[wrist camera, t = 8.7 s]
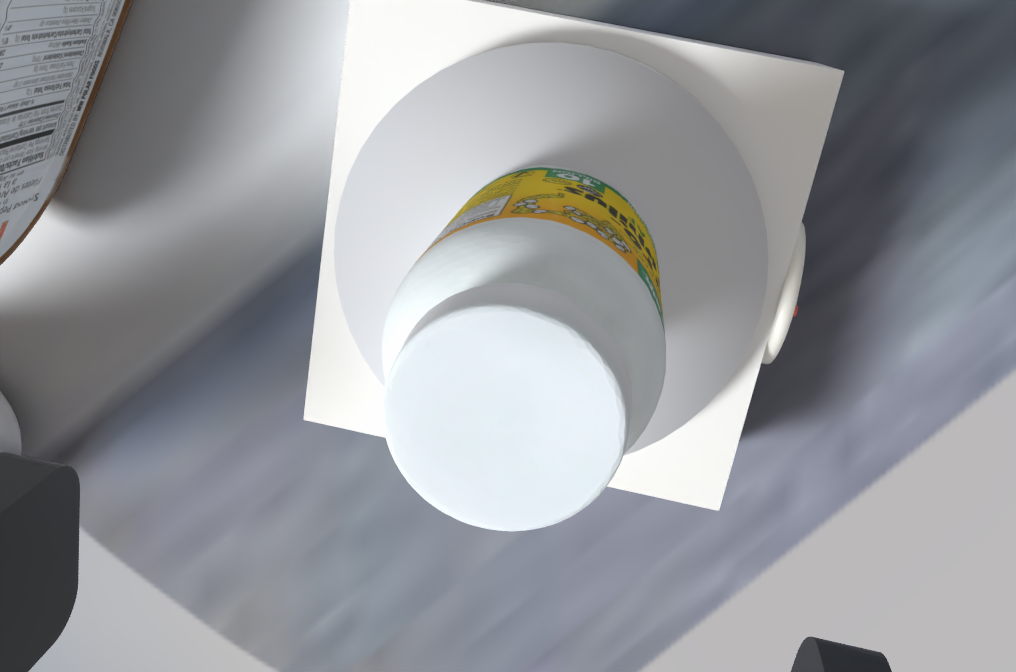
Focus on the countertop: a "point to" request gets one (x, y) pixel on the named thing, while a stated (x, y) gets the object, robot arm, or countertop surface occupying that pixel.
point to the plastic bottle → (9, 429)
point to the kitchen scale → (587, 148)
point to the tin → (46, 97)
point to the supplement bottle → (525, 350)
